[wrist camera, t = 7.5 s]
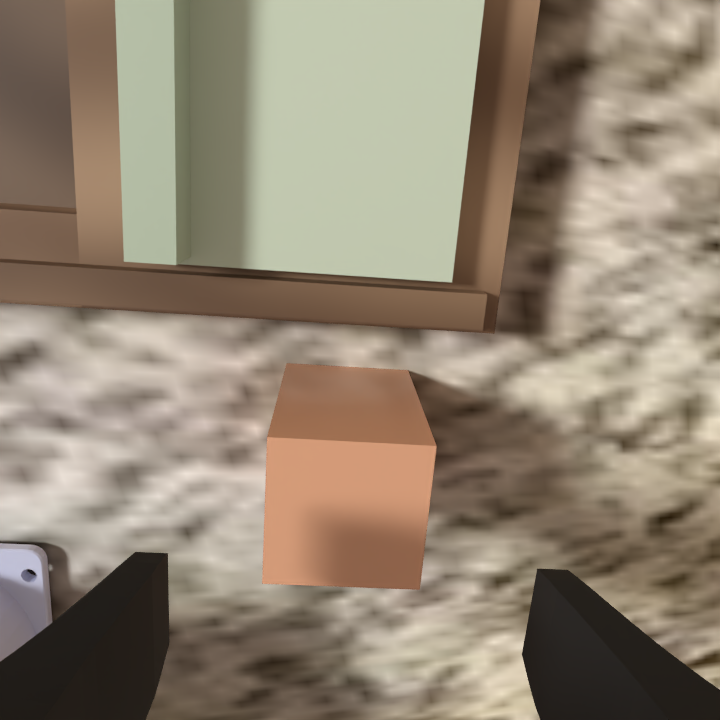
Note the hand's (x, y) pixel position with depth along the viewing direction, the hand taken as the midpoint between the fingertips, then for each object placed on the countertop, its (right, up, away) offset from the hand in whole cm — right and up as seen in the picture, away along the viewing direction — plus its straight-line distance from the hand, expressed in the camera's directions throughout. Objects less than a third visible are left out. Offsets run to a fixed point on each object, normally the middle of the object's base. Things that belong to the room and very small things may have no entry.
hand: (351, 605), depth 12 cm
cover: (-1, +12, +4) cm, 12 cm away
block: (0, +3, +9) cm, 9 cm away
